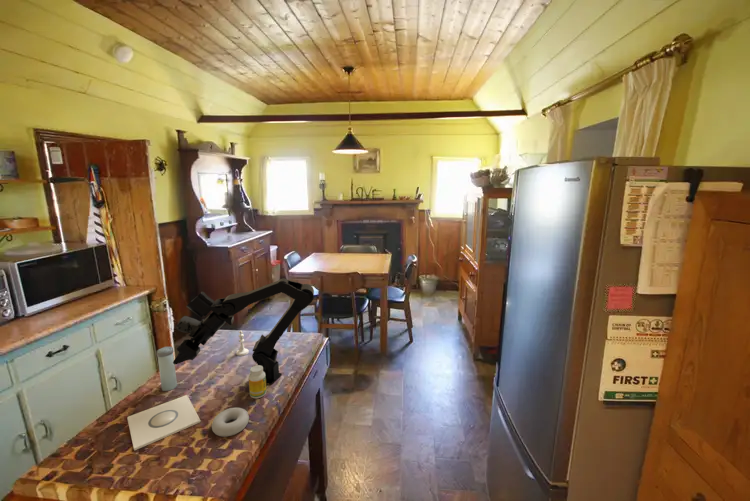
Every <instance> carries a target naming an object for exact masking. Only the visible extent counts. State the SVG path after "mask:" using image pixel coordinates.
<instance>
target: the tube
mask: <svg viewBox="0 0 750 501" xmlns="http://www.w3.org/2000/svg"><path fill="white" fill-rule="evenodd" d="M174 351H175V350H174V347H173V346H163V347H161V348H158V349H157V350H156V357H157V364H158V370H159V371H158V372H159V376H160V377H159V378H160V386H161V391H162V392H169V391H172V390H174V389H176V387H177V386H178V382H177V373H176V365H175V364H173V361H174V360H175V357H174Z"/></svg>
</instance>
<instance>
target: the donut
mask: <svg viewBox="0 0 750 501" xmlns="http://www.w3.org/2000/svg"><path fill="white" fill-rule="evenodd" d="M249 419H250V416H249V412H248V411H247V410H246V409H245V408H242V407H230V408H227V409H224V410H222V411H221V412H219V413H218V414H217V415H216V416H215V417H214V418H213V419H212V423H211V430H212V432H213V433H214V434H215V435H216V436H219V437H225V438H226V437H232V436H234V435H237V434H238V433H240V432H241V431H243V430H244V429H245V427H247V425H248V423H249Z"/></svg>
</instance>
